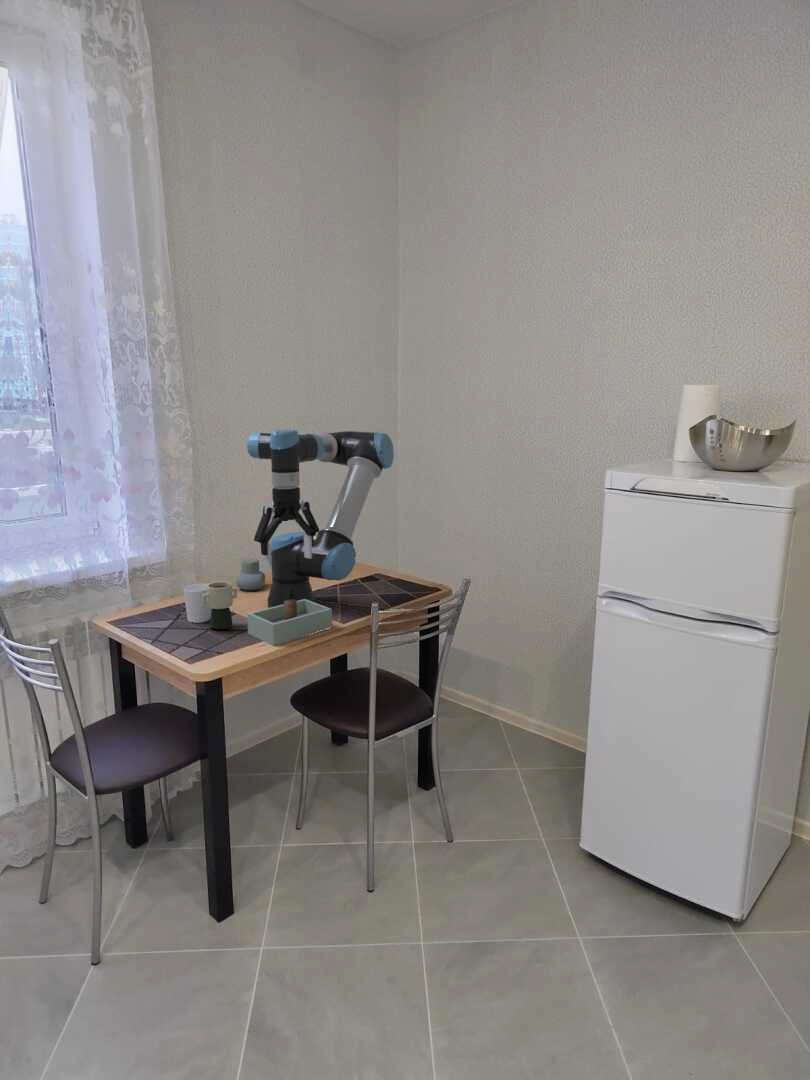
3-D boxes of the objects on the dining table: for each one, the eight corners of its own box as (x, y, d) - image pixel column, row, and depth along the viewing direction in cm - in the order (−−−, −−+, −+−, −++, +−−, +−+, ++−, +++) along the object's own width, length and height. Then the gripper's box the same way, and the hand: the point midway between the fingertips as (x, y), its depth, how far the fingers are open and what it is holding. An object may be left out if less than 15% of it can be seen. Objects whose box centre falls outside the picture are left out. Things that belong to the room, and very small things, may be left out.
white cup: (181, 618, 214) (179, 586, 212) (206, 613, 219) (204, 582, 217) (192, 625, 208) (190, 592, 206) (217, 620, 213) (215, 587, 211)
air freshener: (243, 583, 251) (242, 556, 248) (266, 584, 250) (265, 556, 248) (235, 592, 240) (233, 564, 238) (259, 593, 240) (258, 564, 237)
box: (273, 645, 192) (273, 625, 191) (248, 633, 202) (247, 613, 200) (332, 628, 206) (331, 608, 205) (305, 617, 215) (305, 598, 214)
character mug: (232, 620, 212) (230, 578, 210) (244, 626, 207) (242, 583, 204) (198, 628, 205) (195, 585, 202) (210, 635, 200) (207, 591, 197)
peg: (292, 634, 201) (291, 603, 199) (282, 632, 203) (281, 601, 201) (299, 630, 204) (299, 600, 202) (290, 628, 206) (289, 598, 204)
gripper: (254, 493, 183) (257, 572, 188) (330, 483, 200) (331, 556, 205) (238, 490, 189) (242, 567, 194) (314, 481, 206) (316, 552, 210)
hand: (288, 562), depth 199 cm, fingers open, 13 cm apart
